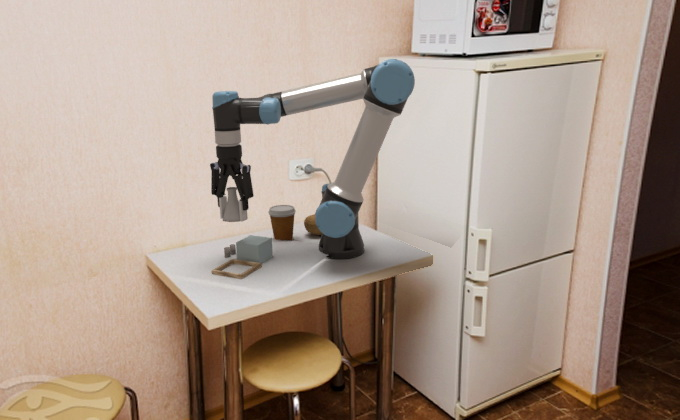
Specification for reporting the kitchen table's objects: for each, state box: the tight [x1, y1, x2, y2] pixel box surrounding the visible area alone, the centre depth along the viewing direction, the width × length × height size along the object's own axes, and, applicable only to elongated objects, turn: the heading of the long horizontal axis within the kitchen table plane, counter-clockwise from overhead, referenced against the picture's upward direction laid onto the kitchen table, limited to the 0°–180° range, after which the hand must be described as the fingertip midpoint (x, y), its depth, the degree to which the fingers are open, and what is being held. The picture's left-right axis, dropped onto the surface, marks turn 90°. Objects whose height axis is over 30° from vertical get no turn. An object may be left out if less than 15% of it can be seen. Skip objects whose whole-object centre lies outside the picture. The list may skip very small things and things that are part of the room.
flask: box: [222, 186, 241, 223], centre depth 173 cm, size 7×7×10 cm
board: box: [211, 243, 263, 280], centre depth 175 cm, size 18×20×4 cm
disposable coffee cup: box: [267, 204, 296, 242], centre depth 199 cm, size 10×10×12 cm
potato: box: [303, 213, 322, 236], centre depth 206 cm, size 10×14×8 cm
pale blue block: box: [235, 234, 274, 264], centre depth 178 cm, size 8×8×6 cm
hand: (234, 218), depth 174 cm, fingers closed on flask, 7 cm apart
